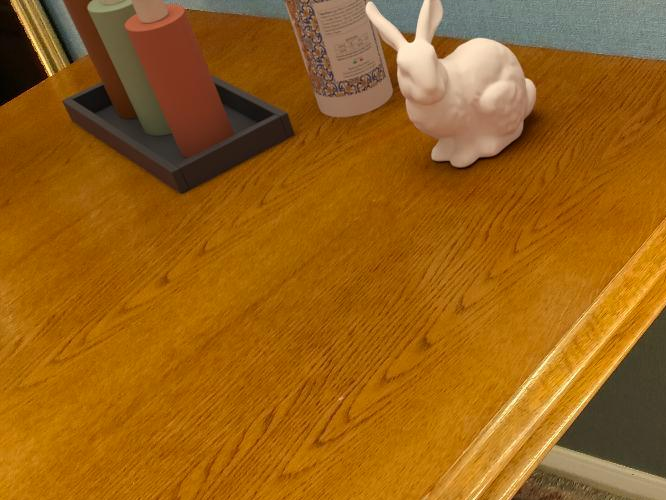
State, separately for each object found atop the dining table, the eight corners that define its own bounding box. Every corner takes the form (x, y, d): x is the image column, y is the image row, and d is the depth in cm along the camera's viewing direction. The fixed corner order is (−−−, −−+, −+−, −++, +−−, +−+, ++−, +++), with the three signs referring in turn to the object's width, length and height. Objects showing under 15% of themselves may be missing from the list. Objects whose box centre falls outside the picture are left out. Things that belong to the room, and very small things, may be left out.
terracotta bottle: (197, 165, 87) (129, 9, 77) (171, 149, 90) (102, -3, 80) (245, 140, 89) (184, -15, 79) (218, 125, 92) (157, -27, 82)
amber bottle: (131, 124, 95) (61, -23, 85) (109, 110, 98) (39, -33, 88) (176, 102, 97) (113, -44, 87) (154, 89, 99) (90, -54, 90)
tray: (185, 202, 85) (171, 171, 83) (75, 128, 98) (61, 100, 96) (298, 142, 89) (287, 112, 87) (178, 79, 102) (166, 51, 100)
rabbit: (446, 187, 80) (409, 33, 71) (384, 152, 85) (342, 4, 76) (562, 124, 84) (540, -30, 75) (495, 94, 89) (468, -53, 80)
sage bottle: (159, 141, 91) (89, -9, 82) (135, 127, 94) (66, -20, 85) (205, 118, 93) (143, -32, 83) (181, 104, 96) (118, -42, 86)
